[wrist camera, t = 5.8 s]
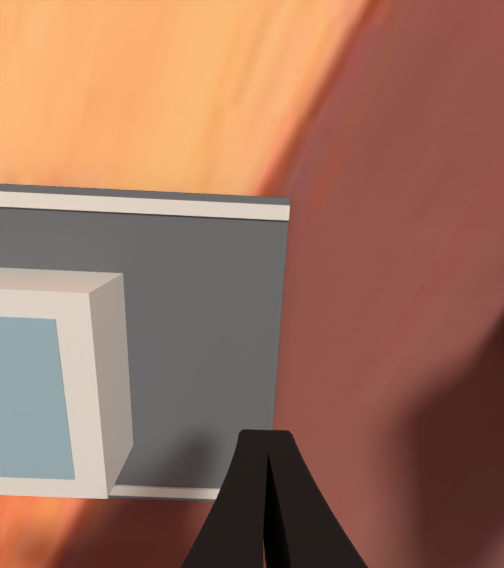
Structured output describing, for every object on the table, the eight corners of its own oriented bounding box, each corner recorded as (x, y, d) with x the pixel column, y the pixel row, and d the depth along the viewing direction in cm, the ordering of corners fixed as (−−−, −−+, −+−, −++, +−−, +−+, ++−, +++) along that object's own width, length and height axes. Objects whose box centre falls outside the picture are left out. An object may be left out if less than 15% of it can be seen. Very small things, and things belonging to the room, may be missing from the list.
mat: (288, 198, 13) (290, 198, 13) (266, 495, 18) (266, 505, 17) (-190, 174, 13) (-210, 173, 13) (-98, 481, 17) (-110, 491, 17)
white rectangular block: (87, 293, 11) (-135, 283, 11) (106, 500, 13) (-76, 493, 13) (122, 273, 14) (-51, 265, 14) (133, 444, 16) (-16, 439, 16)
